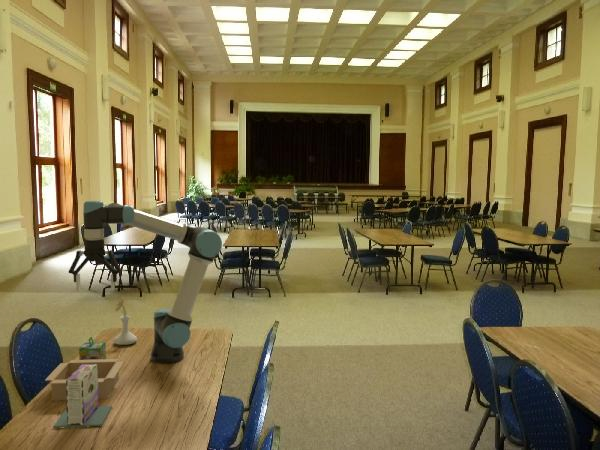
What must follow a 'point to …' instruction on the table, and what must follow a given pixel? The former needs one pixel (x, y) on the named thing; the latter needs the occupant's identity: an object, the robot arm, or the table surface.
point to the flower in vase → (124, 328)
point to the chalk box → (92, 350)
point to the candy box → (82, 394)
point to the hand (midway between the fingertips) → (95, 289)
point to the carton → (58, 377)
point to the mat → (93, 420)
